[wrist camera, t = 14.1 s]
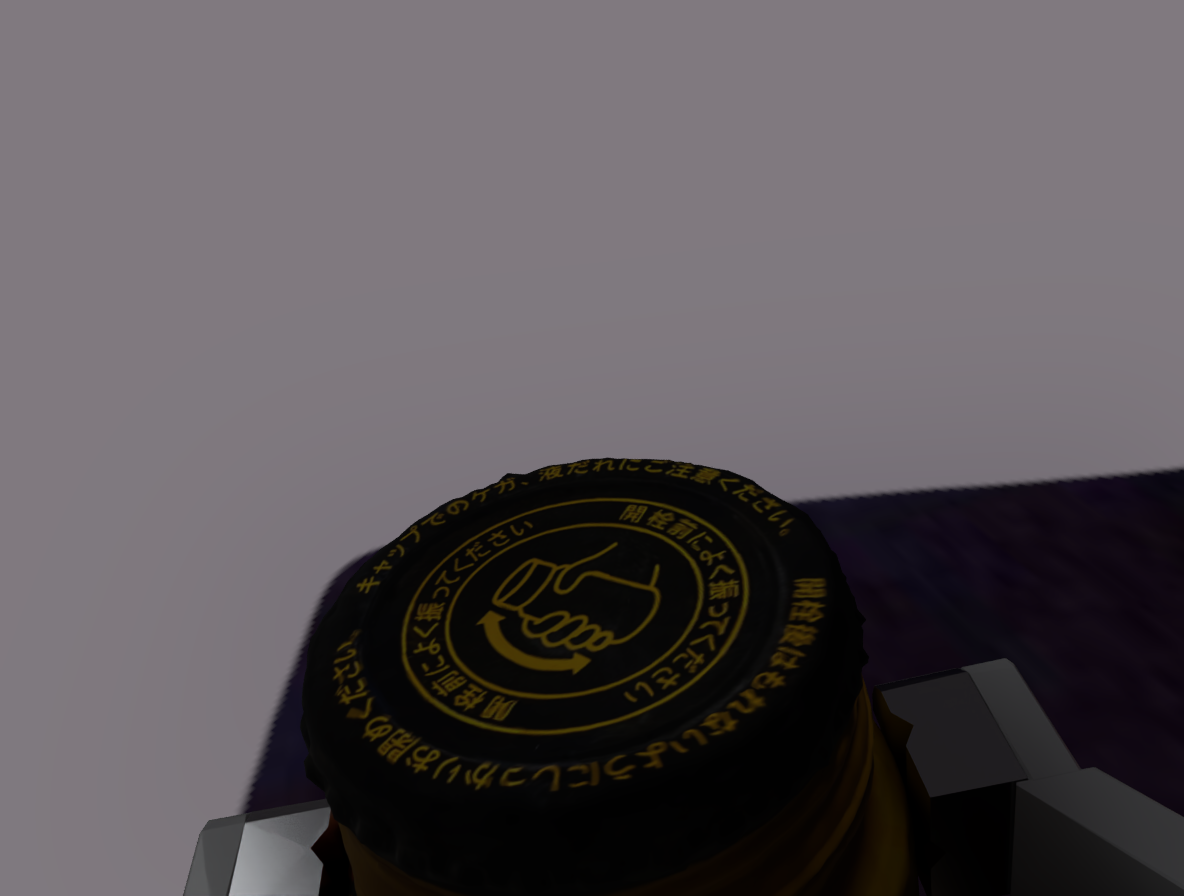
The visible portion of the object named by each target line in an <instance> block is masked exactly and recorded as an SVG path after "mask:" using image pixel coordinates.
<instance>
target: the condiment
mask: <svg viewBox="0 0 1184 896" xmlns="http://www.w3.org/2000/svg"><path fill="white" fill-rule="evenodd" d="M865 620H866V619H865V618H864V616H863V615H862V614H861V613H860V612H859V611H858V609H857V606H856V602H855V598H854V596H853V595H852V593H851V591H850V588H849V586H848V584H847V582H846V576H845V575H844V574H843V573H842V570H841V567H840V564H839V561H838V558H837V555H836V554H835V553H834V552H833V551H832V550H831V549H830V547H829V545H828V543H827V542H826V540H825V538H824V536H823V535H822V533H821V531H820V530H819V529H818V528H817V527H816V526H815V524H814V523H813V521H812V520H811V519H810V517H809V516H808V514H806V513H805V512H803V511H801V510H800V509H798V508H797V507H795V506H793V505H791V504H789V503H787V502H785V501H783V500H781V499H780V498H778V497H776V496H775V495H773V494H771V493H769V492H768V491H766V490H764V489H763V488H762V487H760V486H759V485H758V484H756V483H755V482H754V481H753V480H750V479H748V478H746V477H743V476H741V475H738V474H736V473H733V472H730V471H728V470H721V469H715V468H711V467H706V466H702V465H693V464H691V463H684V462H674V461H671V460H654V459H614V458H603V459H588V460H581V461H577V462H574V463H567V464H560V465H551V466H547V467H544V468H541V469H538V470H535V471H533V472H530V473H528V474H511V473H507V474H506V475H505V476H503V477H502V478H501V479H500V481H499V482H497V483H494V484H491V485H489V486H487V487H486V488H484V489H478V490H474V491H472V492H470V493H469V494H467V495H465V496H463V497H461V498H456V499H453V500H451V501H449V502H447V503H445V504H443V505H441V506H439V507H438V508H437V509H435V510H434V511H432V512H431V513H430V514H428V515H426V516H424V517H423V518H421V519H419V520H418V521H416V522H415V523H414V524H412V525H411V526H410V527H409V528H408V529H406V530H405V531H404V532H403V533H402V534H401V535H400V536H399V537H398V538H396V539H395V540H393V541H392V542H390V543H389V544H387V545H386V546H384V547H383V548H381V549H380V550H379V551H378V552H377V553H376V554H375V555H374V556H373V557H372V558H370V559H369V560H368V561H367V562H365V563H364V564H363V565H362V566H361V568H360V569H359V570H358V571H357V572H356V573H355V574H354V575H353V576H352V577H351V579H350V580H349V581H348V582H347V583H346V585H345V587H344V589H343V591H342V592H341V594H340V596H339V597H338V599H337V601H336V602H335V604H334V605H333V607H332V608H331V609H330V610H329V611H328V612H327V614H326V615H325V616H324V617H323V619H322V621H321V623H320V624H319V626H318V628H317V630H316V632H315V634H314V635H313V636H312V638H311V640H310V644H309V648H308V655H307V669H306V672H305V678H304V683H303V692H302V706H303V711H304V712H303V716H302V720H301V724H300V728H301V732H302V736H303V738H304V741H305V743H306V746H307V749H308V752H309V754H308V756H307V757H306V759H305V761H304V765H305V771H306V777H307V778H308V779H310V780H311V781H312V782H313V783H314V784H315V785H317V786H318V787H319V788H320V789H322V790H323V791H324V792H325V796H326V799H327V802H328V804H329V806H330V808H331V811H332V814H333V817H334V820H336V821H337V822H338V824H339V827H340V831H341V834H342V839H343V844H344V848H345V851H346V853H347V856H348V858H349V861H350V865H349V868H348V877H349V894H348V896H919V886H918V873H917V864H916V854H915V839H914V821H913V815H912V810H911V802H910V799H909V797H908V794H907V792H906V790H905V785H904V783H903V780H902V777H901V774H900V772H899V769H898V766H897V763H896V761H895V758H894V756H893V754H892V752H891V750H890V748H889V746H888V744H887V742H886V740H885V737H884V735H883V734H882V732H881V730H880V729H879V727H878V726H877V724H876V723H875V722H874V720H873V716H872V710H871V704H870V700H869V696H868V692H867V689H866V686H865V683H864V680H863V677H862V674H861V672H862V667H863V666H864V665H865V664H867V663H868V658H869V656H868V655H867V653H866V652H865V650H864V649H863V629H862V627H861V626H862V624H863V623H864V622H865Z"/></svg>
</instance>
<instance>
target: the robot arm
mask: <svg viewBox="0 0 1184 896" xmlns="http://www.w3.org/2000/svg"><path fill="white" fill-rule="evenodd" d="M872 700H873V711H874V714H875V716H876V718H877V721H878V723H879V725H880V728H881V732H882V734H883V735H884V737H885V740H886V742H887V744H888V746H889V748H890V750H891V752H892V754H893V756H894V758H895V761H896V763H897V766H898V769H899V772H900V774H901V777H902V780H903V783H904V785H905V790H906V792H907V794H908V797H909V799H910V802H911V810H912V815H913V821H914V839H915V854H916V864H917V873H918V876H919V878H920V881H921V883H922V885H923V888H924V890H925V892H926V895H927V896H1002V895H1008V894H1010V896H1184V817H1182V816H1180V815H1179V814H1177V813H1175V812H1173V811H1172V810H1170V809H1168V808H1166V807H1165V806H1163V805H1161V804H1159V803H1157V802H1156V801H1154V800H1152V799H1150V798H1149V797H1147V796H1145V795H1143V794H1141V793H1140V792H1138V791H1136V790H1134V789H1133V788H1131V787H1129V786H1127V785H1126V784H1124V783H1122V782H1120V781H1118V780H1117V779H1115V778H1113V777H1111V776H1110V775H1108V774H1106V773H1104V772H1102V771H1101V770H1099V769H1097V768H1095V767H1093V768H1087V769H1081V768H1080V767H1079V765H1078V764H1077V762H1076V761H1075V759H1074V757H1073V756H1072V754H1071V753H1070V751H1069V750H1068V748H1067V746H1066V745H1065V743H1064V742H1063V740H1062V739H1061V737H1060V735H1059V734H1058V732H1057V731H1056V729H1055V728H1054V726H1053V724H1052V723H1051V721H1050V720H1049V718H1048V717H1047V715H1046V713H1045V712H1044V710H1043V709H1042V707H1041V706H1040V704H1039V702H1038V701H1037V699H1036V698H1035V696H1034V695H1033V693H1032V691H1031V690H1030V688H1029V687H1028V685H1027V684H1026V682H1025V680H1024V679H1023V677H1022V676H1021V674H1020V673H1019V671H1018V669H1017V668H1016V666H1015V665H1014V664H1013V663H1012V662H1010V661H1009V660H1008V659H1006V658H1005V659H1000V660H995V661H990V662H986V663H981V664H976V665H971V666H966V667H962V668H961V669H959V668H955V669H950V670H946V671H941V672H936V673H932V674H927V675H923V676H918V677H913V678H909V679H904V680H899V681H895V682H890V683H886V684H881V685H876V686H874V689H873V693H872ZM349 865H350V861H349V858H348V856H347V853H346V851H345V848H344V844H343V839H342V834H341V831H340V827H339V824H338V822H337V821H336V820H334V817H333V814H332V811H331V808H330V806H329V804H328V802H327V799H322V800H317V801H311V802H305V803H300V804H294V805H288V806H283V807H277V808H271V809H266V810H260V811H255V812H252V813H247V814H241V815H236V816H231V817H225V818H219V819H214V820H209V821H208V822H207V824H206V825H205V827H204V828H203V830H202V831H201V833H200V834H199V838H198V842H197V846H196V849H195V853H194V857H193V861H192V864H191V868H190V872H189V875H188V879H187V883H186V887H185V890H184V894H183V896H348V894H349V877H348V868H349Z"/></svg>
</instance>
